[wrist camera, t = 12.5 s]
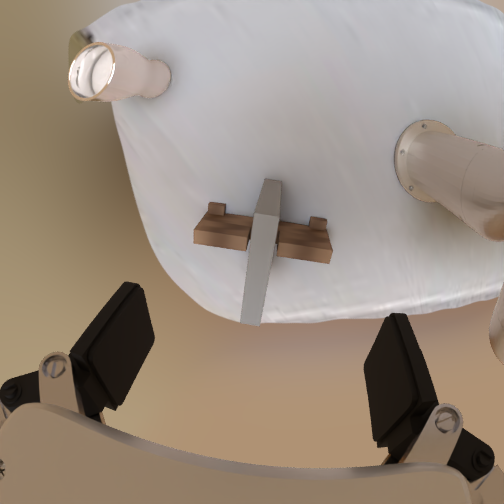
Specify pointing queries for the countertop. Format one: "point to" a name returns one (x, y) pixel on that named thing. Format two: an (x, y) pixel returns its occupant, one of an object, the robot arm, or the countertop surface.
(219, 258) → the countertop surface
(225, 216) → the walnut slotted plate
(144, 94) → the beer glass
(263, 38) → the countertop surface
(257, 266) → the gray square panel
